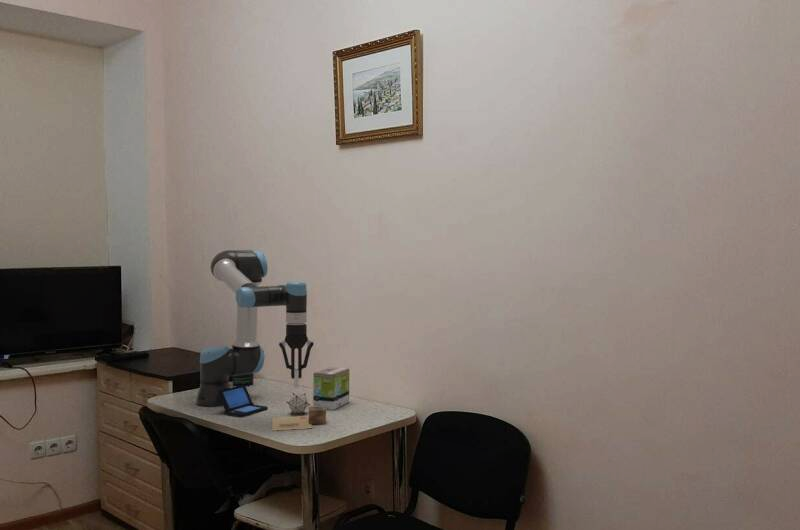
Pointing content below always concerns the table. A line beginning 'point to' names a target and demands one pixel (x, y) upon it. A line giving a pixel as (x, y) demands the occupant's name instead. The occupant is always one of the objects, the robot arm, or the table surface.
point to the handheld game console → (238, 402)
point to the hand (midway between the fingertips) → (296, 386)
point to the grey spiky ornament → (298, 403)
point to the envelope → (290, 423)
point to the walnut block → (317, 415)
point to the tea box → (331, 388)
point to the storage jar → (243, 380)
